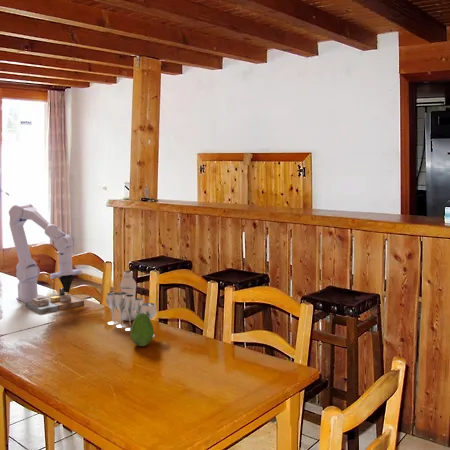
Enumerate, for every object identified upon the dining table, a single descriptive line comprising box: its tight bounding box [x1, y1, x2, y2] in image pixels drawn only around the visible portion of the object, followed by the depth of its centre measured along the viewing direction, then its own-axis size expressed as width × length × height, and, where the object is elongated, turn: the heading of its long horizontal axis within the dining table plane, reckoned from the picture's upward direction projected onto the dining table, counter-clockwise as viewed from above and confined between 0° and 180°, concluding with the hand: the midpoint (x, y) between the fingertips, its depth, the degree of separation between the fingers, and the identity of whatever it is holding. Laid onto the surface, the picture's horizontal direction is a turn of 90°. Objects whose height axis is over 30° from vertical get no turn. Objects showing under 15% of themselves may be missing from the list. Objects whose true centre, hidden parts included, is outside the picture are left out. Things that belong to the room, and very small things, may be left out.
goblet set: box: [105, 291, 157, 338], centre depth 210 cm, size 28×6×13 cm, turn 47°
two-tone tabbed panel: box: [24, 292, 85, 315], centre depth 243 cm, size 20×15×4 cm
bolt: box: [49, 287, 69, 302], centre depth 245 cm, size 8×2×5 cm, turn 133°
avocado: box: [130, 313, 154, 347], centre depth 193 cm, size 8×8×12 cm
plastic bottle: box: [119, 270, 137, 322], centre depth 221 cm, size 6×7×20 cm
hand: (66, 292), depth 247 cm, fingers closed
